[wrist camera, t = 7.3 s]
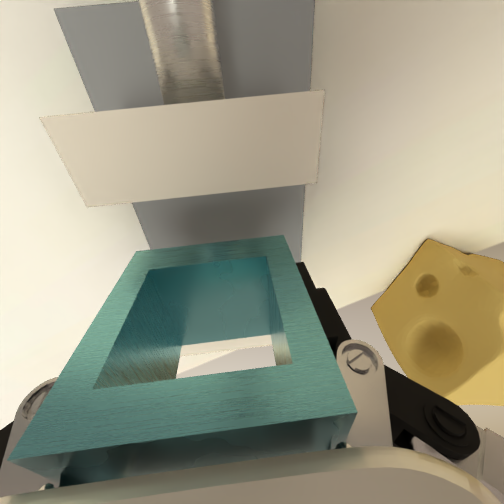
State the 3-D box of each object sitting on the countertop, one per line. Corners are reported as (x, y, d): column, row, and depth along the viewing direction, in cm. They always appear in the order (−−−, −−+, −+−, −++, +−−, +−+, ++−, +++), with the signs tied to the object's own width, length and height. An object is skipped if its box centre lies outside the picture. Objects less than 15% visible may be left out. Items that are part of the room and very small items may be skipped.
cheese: (425, 235, 21) (555, 325, 12) (506, 257, 23) (660, 345, 15) (363, 311, 26) (425, 409, 18) (434, 322, 28) (518, 413, 20)
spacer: (136, 251, 10) (6, 460, 4) (283, 234, 10) (357, 412, 4) (168, 324, 13) (118, 509, 7) (283, 310, 13) (328, 479, 7)
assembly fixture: (69, 16, 11) (-152, -99, 5) (308, -5, 11) (410, -141, 5) (179, 306, 23) (160, 386, 17) (295, 292, 23) (320, 366, 17)
